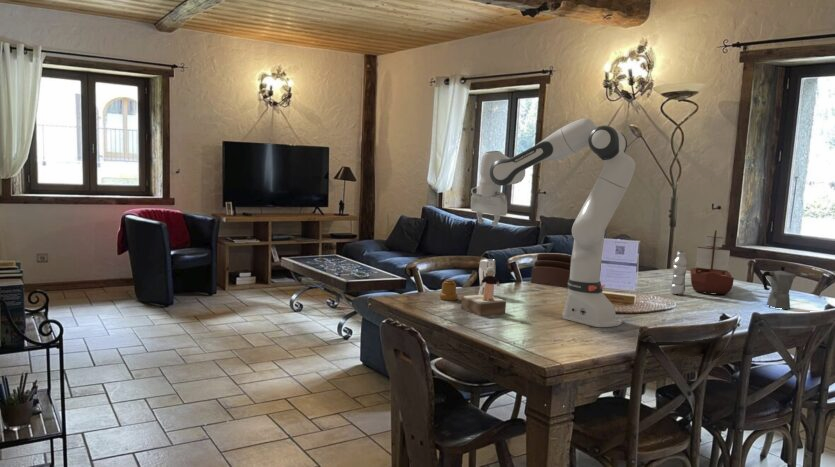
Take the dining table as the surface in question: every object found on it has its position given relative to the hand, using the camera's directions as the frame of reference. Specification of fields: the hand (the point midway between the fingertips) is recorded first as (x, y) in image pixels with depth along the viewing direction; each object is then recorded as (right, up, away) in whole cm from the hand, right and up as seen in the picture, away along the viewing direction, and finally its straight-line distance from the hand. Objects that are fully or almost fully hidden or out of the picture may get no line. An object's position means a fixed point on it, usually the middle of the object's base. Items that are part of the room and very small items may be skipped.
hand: (487, 224), depth 263 cm
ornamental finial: (-16, -31, +1) cm, 35 cm away
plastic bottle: (+91, -32, +33) cm, 102 cm away
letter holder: (+37, -28, +44) cm, 64 cm away
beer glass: (0, -30, +12) cm, 32 cm away
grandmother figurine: (-2, -29, -20) cm, 35 cm away
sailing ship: (+114, -31, +51) cm, 128 cm away
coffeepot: (+127, -36, +15) cm, 133 cm away
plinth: (-4, -33, -17) cm, 38 cm away
